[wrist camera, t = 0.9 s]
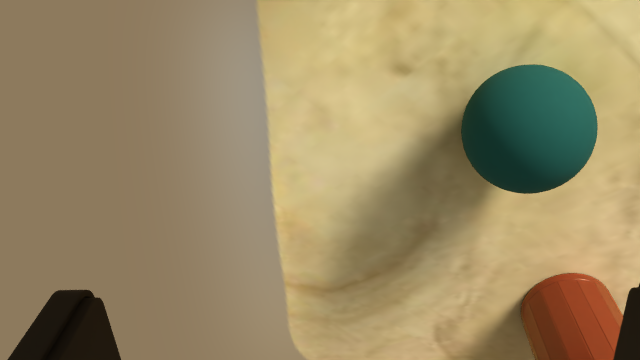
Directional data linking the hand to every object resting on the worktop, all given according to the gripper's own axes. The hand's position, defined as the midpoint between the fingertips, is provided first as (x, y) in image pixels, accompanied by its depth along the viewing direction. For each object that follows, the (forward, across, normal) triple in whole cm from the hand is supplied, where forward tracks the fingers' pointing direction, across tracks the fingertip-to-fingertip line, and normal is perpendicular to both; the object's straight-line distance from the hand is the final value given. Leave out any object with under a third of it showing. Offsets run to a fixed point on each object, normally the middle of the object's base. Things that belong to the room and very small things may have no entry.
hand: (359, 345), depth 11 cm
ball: (+21, -8, +4) cm, 23 cm away
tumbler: (+21, -12, +18) cm, 30 cm away
